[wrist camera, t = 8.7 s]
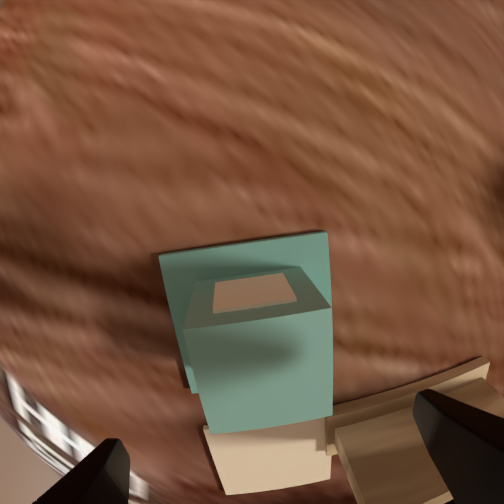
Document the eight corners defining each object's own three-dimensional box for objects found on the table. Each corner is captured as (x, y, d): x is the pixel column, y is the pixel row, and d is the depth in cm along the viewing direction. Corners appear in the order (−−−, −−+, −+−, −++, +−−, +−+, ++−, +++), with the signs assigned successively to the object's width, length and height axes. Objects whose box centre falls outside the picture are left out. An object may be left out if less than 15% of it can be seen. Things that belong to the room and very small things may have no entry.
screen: (471, 395, 20) (529, 457, 11) (323, 446, 19) (357, 543, 11) (482, 355, 19) (552, 415, 10) (323, 407, 18) (366, 515, 10)
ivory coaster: (328, 475, 20) (329, 478, 20) (226, 491, 20) (226, 495, 19) (331, 405, 18) (332, 409, 18) (203, 425, 18) (203, 429, 17)
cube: (306, 355, 17) (332, 415, 12) (213, 368, 16) (210, 434, 12) (299, 263, 15) (331, 303, 11) (194, 278, 15) (181, 325, 10)
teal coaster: (331, 368, 17) (333, 372, 17) (192, 389, 17) (191, 393, 17) (324, 230, 16) (327, 232, 15) (160, 254, 15) (158, 256, 15)
